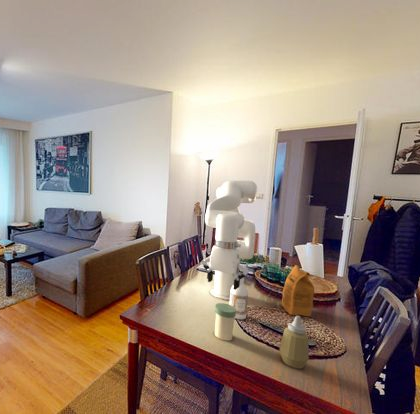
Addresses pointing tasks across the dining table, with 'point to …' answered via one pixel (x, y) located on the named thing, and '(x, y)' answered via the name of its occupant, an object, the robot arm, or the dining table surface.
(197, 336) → the dining table surface
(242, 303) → the bath foam
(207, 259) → the robot arm
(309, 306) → the coffee package
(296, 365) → the squeeze bottle
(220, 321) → the jar
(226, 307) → the lid
